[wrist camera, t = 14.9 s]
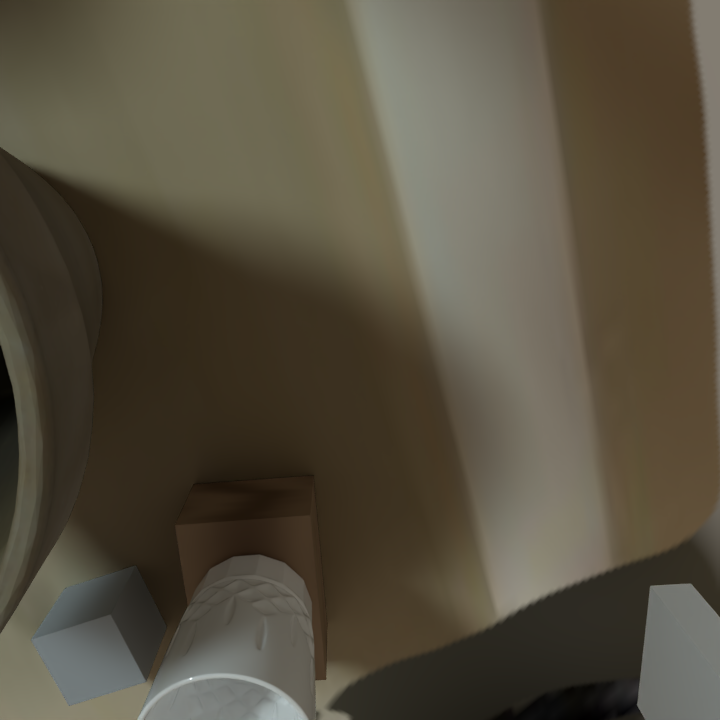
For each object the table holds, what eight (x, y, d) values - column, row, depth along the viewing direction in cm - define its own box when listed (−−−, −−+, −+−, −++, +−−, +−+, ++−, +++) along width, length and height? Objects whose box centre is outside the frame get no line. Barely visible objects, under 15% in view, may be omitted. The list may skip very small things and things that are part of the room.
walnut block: (215, 633, 44) (200, 689, 39) (193, 484, 41) (174, 525, 36) (327, 624, 44) (326, 679, 39) (313, 475, 41) (310, 515, 36)
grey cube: (98, 648, 44) (69, 705, 39) (65, 587, 43) (31, 640, 38) (167, 626, 44) (146, 681, 39) (136, 564, 43) (110, 614, 38)
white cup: (273, 682, 39) (253, 847, 30) (158, 621, 38) (97, 772, 28) (348, 587, 38) (352, 728, 28) (230, 518, 36) (192, 643, 27)
